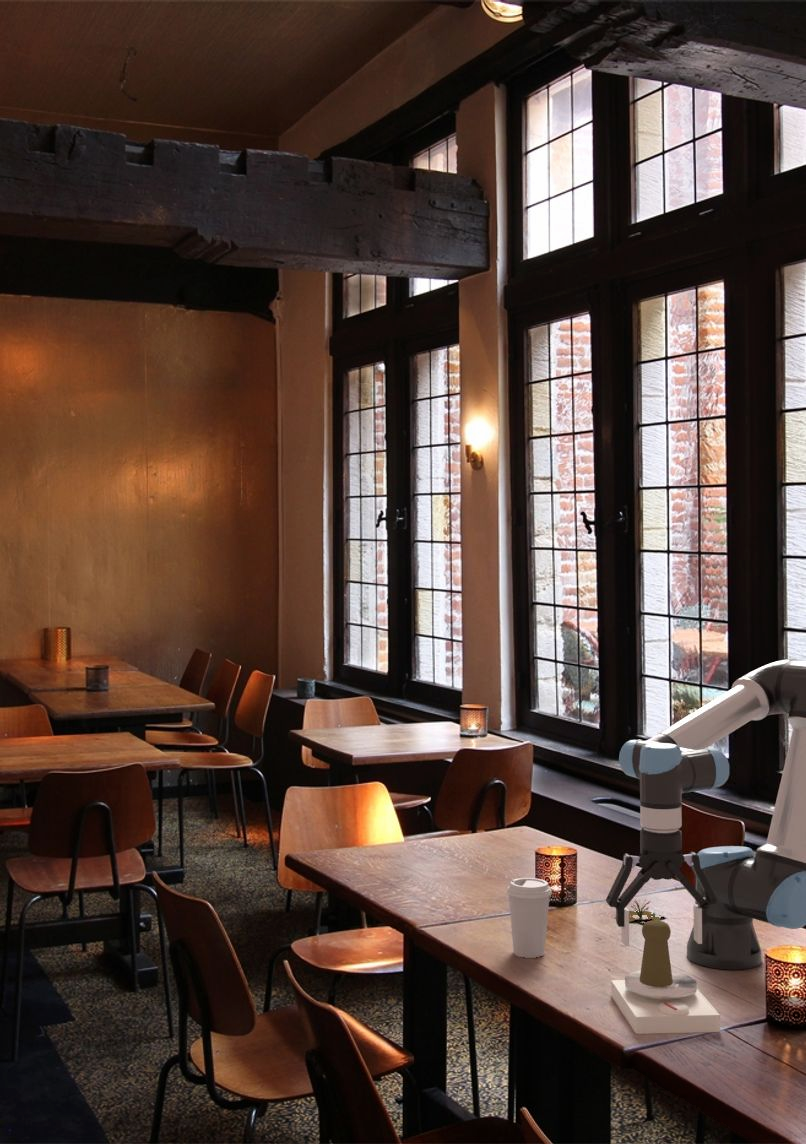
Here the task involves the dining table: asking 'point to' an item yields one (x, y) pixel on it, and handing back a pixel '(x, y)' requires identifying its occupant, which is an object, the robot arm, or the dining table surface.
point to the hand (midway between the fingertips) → (661, 942)
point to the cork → (656, 955)
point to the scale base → (665, 1012)
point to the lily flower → (642, 913)
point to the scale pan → (677, 990)
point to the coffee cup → (529, 915)
